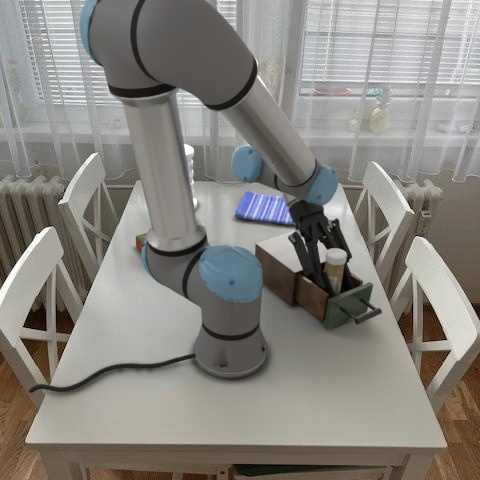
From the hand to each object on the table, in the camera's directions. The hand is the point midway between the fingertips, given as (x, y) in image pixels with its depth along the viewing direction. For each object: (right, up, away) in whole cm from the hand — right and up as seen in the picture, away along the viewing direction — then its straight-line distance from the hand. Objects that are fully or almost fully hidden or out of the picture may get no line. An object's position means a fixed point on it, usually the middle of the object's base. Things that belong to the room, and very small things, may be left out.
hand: (341, 296), depth 110 cm
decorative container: (-43, +31, +47) cm, 71 cm away
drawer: (-1, -3, +4) cm, 5 cm away
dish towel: (-11, +29, +45) cm, 55 cm away
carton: (-43, +15, +27) cm, 53 cm away
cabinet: (-9, +4, +14) cm, 18 cm away
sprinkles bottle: (-2, -1, +5) cm, 5 cm away
